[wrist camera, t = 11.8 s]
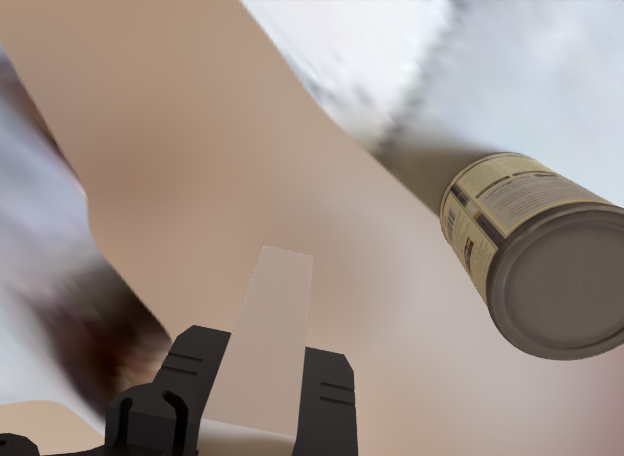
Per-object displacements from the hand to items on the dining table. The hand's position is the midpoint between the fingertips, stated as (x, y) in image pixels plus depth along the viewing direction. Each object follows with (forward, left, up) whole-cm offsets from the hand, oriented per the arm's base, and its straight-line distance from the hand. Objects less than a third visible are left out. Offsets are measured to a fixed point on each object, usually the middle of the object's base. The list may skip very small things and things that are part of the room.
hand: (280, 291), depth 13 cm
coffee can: (+17, -3, -27) cm, 32 cm away
